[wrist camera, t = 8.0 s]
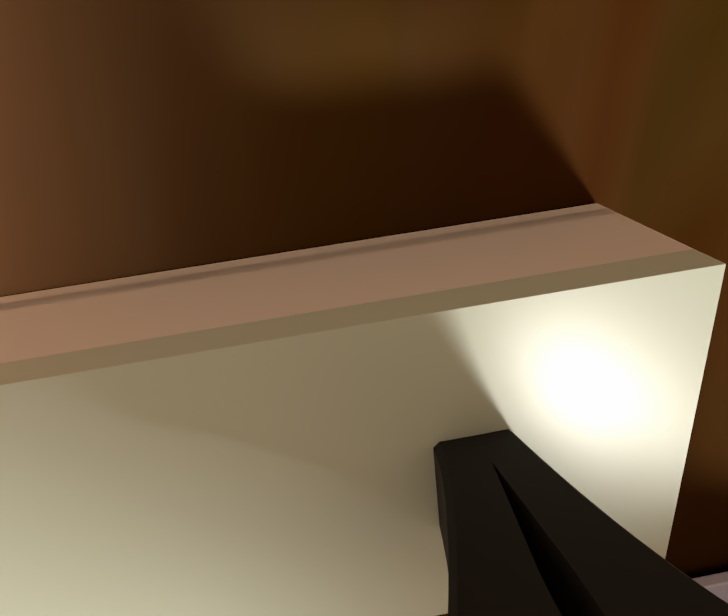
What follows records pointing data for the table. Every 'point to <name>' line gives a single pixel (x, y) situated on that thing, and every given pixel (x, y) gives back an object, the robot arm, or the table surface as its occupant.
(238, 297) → the cable duct
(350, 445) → the duct lid
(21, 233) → the table surface
